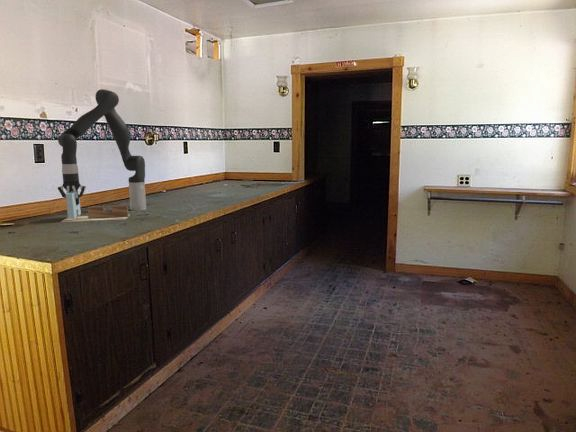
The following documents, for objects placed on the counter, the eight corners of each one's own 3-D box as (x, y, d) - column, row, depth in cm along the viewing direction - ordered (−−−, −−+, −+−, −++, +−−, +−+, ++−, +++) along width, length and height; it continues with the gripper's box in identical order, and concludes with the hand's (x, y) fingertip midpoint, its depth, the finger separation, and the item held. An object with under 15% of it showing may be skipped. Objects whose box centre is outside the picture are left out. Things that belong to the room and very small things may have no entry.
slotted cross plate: (75, 214, 236) (72, 190, 233) (80, 214, 236) (78, 190, 234) (68, 218, 222) (65, 193, 220) (74, 218, 223) (71, 193, 220)
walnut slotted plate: (89, 217, 232) (88, 206, 231) (128, 216, 236) (127, 205, 235) (88, 218, 230) (87, 207, 229) (127, 216, 234) (127, 206, 233)
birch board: (68, 218, 236) (68, 216, 236) (130, 215, 243) (130, 214, 243) (60, 223, 221) (60, 221, 220) (126, 220, 228) (126, 219, 227)
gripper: (86, 171, 230) (89, 203, 233) (57, 172, 227) (61, 204, 230) (83, 172, 223) (86, 205, 226) (53, 173, 220) (57, 206, 223)
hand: (73, 205), depth 228 cm, fingers closed on slotted cross plate, 3 cm apart
